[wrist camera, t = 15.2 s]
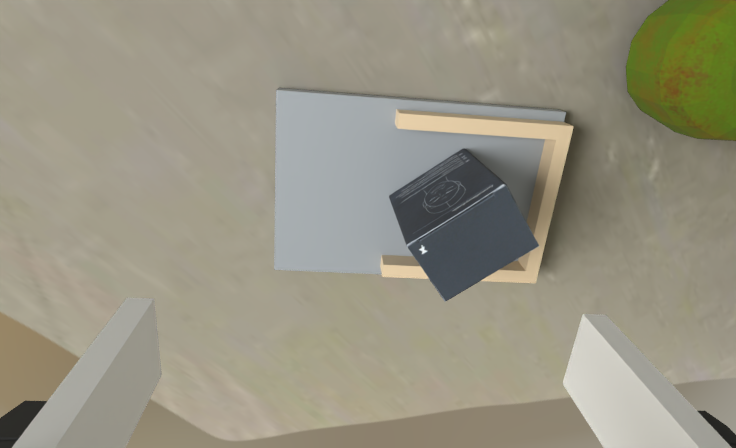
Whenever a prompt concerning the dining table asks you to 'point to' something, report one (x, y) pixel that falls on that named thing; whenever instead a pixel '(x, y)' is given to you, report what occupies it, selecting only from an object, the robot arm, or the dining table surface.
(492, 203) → the box
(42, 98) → the dining table surface
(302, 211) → the dock
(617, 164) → the dining table surface
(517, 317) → the dining table surface
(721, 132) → the apple
